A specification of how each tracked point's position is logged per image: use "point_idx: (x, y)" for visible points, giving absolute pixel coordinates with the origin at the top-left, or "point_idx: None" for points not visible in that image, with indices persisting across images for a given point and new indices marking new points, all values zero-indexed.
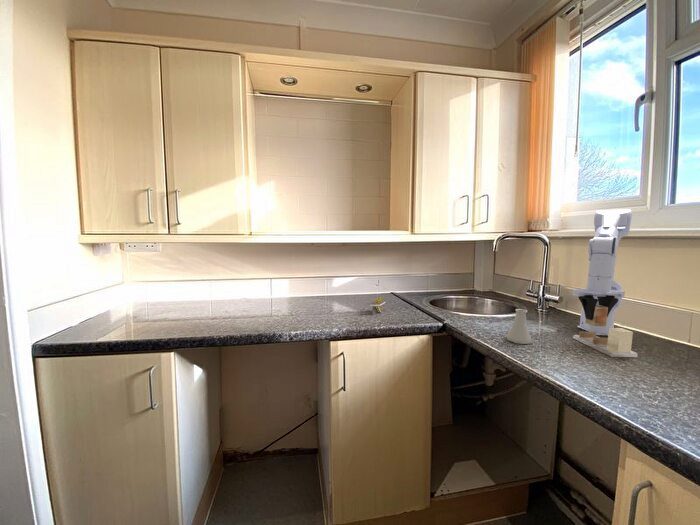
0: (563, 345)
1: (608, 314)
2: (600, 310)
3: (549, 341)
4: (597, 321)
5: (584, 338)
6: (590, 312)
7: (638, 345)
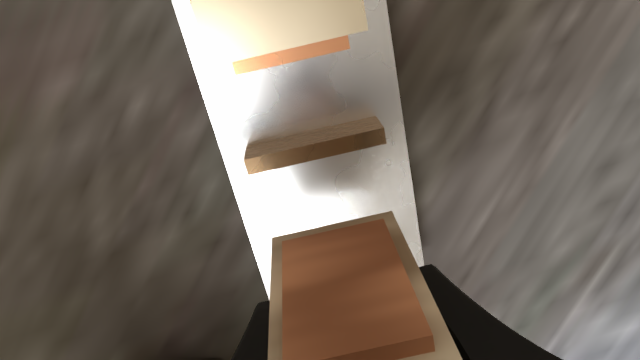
0: (582, 73)
1: (240, 347)
2: (391, 328)
3: (628, 138)
4: (382, 232)
5: (389, 206)
6: (483, 314)
7: (22, 239)
